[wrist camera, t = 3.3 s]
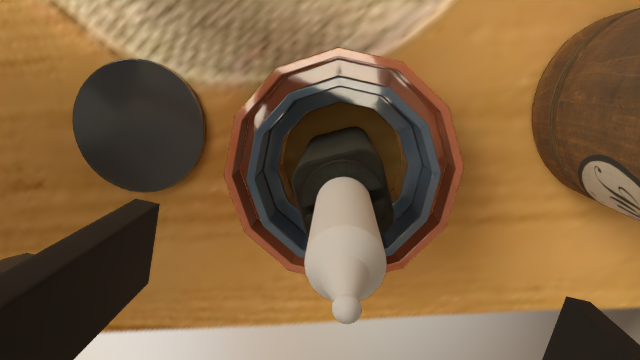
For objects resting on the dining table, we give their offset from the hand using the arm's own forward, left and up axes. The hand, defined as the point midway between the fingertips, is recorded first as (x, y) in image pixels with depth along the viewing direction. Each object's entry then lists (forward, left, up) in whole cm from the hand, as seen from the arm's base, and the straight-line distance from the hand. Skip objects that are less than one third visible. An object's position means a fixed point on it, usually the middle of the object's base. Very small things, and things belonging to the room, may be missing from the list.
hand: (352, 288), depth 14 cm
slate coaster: (-17, -1, -23) cm, 29 cm away
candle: (0, 0, -23) cm, 23 cm away
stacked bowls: (0, 0, -23) cm, 23 cm away
